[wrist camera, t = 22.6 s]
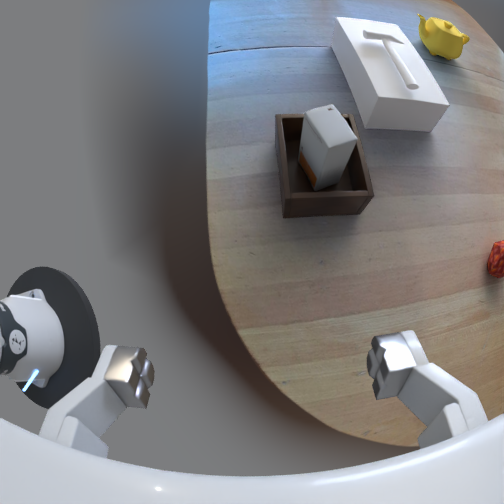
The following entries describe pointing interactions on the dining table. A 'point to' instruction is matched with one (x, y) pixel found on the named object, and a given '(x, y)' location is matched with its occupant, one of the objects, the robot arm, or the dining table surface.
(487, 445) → the robot arm
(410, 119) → the hammer relief block
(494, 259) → the decorative stone
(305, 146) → the cosmetic box
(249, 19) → the dining table surface
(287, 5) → the dining table surface
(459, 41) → the teapot
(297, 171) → the holder
